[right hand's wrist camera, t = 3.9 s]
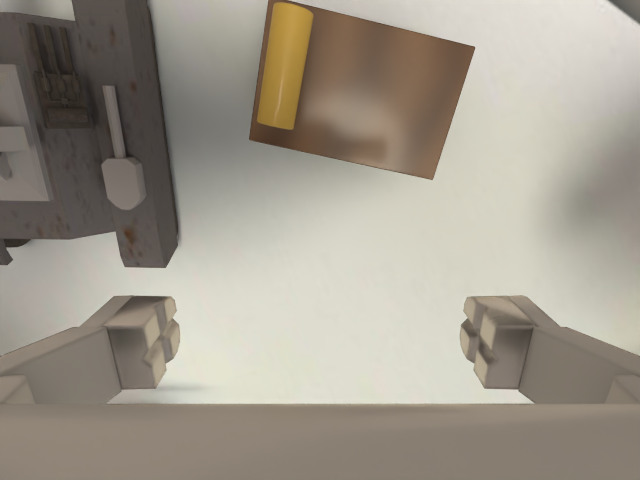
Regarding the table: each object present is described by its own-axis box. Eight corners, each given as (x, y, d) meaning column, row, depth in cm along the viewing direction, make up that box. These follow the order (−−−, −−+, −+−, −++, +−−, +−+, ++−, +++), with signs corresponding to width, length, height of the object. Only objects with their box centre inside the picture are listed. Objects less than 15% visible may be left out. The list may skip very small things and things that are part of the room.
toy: (183, 249, 41) (111, 324, 26) (6, 247, 40) (-161, 320, 26) (151, -14, 32) (18, -113, 18) (-75, -19, 32) (-390, -122, 18)
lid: (250, 139, 28) (223, 150, 20) (270, -2, 25) (247, -55, 17) (429, 178, 29) (472, 203, 21) (471, 48, 26) (539, 20, 18)
